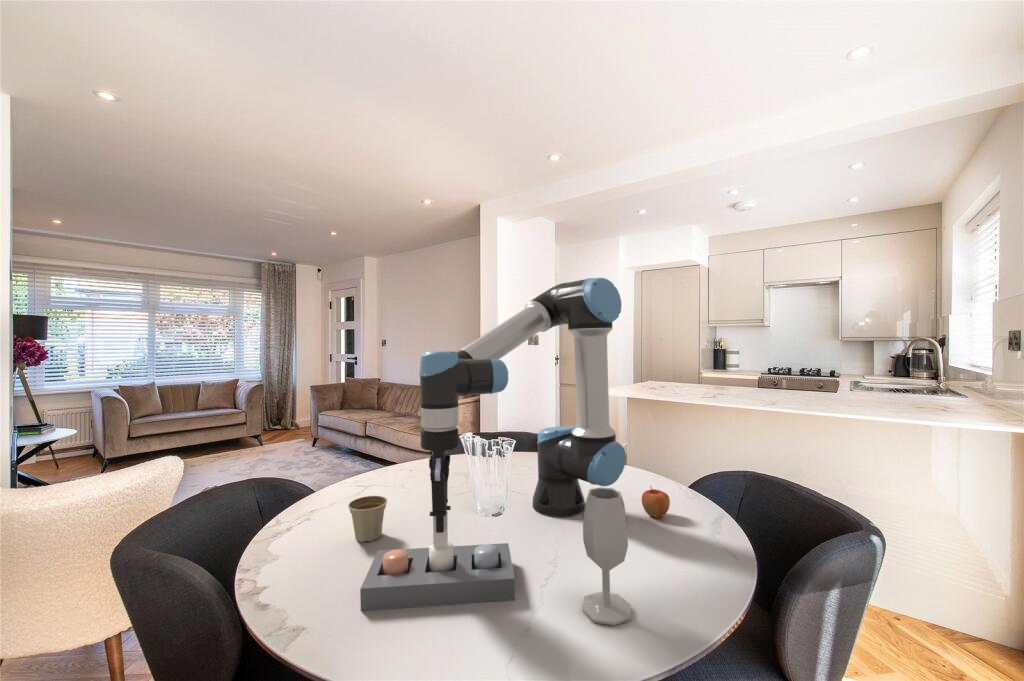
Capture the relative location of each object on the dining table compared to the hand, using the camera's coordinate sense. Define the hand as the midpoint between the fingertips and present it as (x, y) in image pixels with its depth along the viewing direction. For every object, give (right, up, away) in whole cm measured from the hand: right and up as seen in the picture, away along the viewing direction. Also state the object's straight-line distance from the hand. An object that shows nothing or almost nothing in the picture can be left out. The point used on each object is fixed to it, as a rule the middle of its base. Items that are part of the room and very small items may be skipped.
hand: (440, 545), depth 84 cm
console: (0, -8, 0) cm, 8 cm away
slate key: (+9, -5, +1) cm, 11 cm away
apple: (+54, -7, +31) cm, 62 cm away
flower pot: (-22, -8, +21) cm, 31 cm away
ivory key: (0, -4, 0) cm, 4 cm away
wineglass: (+31, -7, -9) cm, 33 cm away
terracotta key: (-9, -6, -1) cm, 10 cm away
